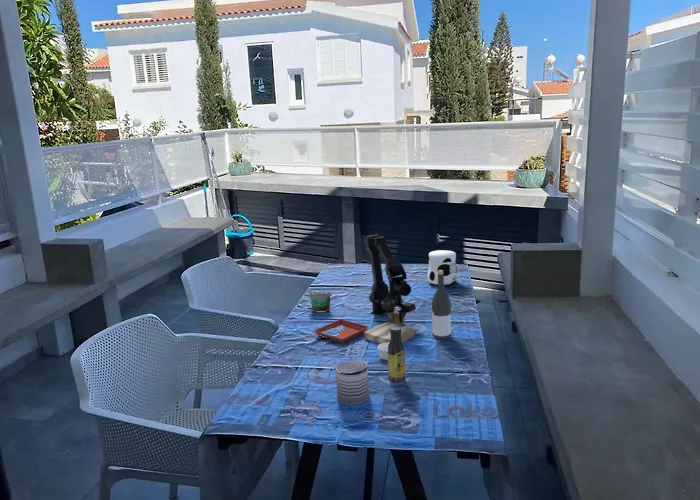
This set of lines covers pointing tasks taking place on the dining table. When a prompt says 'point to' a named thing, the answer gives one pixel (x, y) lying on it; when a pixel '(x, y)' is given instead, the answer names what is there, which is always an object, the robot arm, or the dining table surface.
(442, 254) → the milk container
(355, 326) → the plant saucer
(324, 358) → the dining table surface
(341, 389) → the can
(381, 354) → the ramekin
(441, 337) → the wine bottle
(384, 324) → the birch base
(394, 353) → the sauce bottle
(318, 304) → the food container
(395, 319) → the walnut block
